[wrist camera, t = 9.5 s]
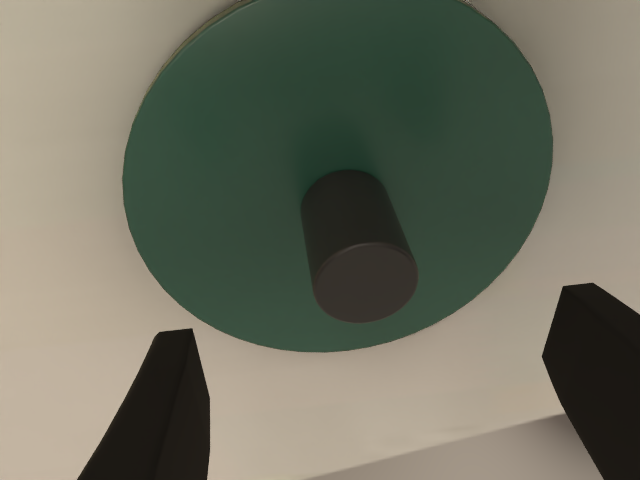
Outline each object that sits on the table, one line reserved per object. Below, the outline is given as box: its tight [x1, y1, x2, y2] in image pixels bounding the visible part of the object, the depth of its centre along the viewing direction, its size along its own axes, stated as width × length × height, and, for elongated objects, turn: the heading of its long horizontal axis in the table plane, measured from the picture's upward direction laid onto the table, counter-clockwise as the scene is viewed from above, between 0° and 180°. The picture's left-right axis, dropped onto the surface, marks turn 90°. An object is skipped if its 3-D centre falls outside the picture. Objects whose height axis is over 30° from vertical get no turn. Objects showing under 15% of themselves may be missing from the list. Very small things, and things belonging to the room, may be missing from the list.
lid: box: [122, 0, 553, 352], centre depth 14 cm, size 11×11×4 cm
